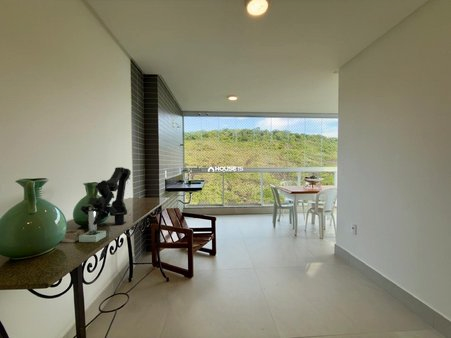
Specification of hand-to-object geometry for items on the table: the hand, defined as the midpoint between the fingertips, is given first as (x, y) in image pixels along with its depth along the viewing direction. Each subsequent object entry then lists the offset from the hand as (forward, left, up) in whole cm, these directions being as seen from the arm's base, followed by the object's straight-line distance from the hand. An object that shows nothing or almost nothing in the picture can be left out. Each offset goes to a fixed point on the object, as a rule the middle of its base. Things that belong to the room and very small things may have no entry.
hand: (90, 224), depth 117 cm
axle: (-1, 0, -7) cm, 7 cm away
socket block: (-1, 0, -8) cm, 8 cm away
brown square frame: (0, -11, -8) cm, 14 cm away
